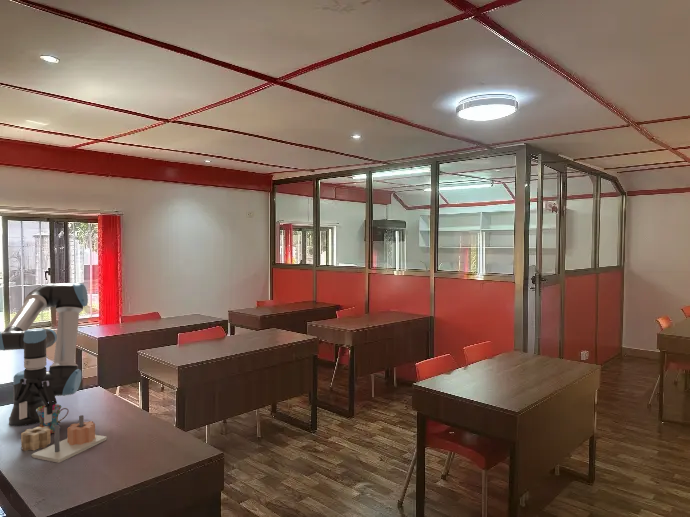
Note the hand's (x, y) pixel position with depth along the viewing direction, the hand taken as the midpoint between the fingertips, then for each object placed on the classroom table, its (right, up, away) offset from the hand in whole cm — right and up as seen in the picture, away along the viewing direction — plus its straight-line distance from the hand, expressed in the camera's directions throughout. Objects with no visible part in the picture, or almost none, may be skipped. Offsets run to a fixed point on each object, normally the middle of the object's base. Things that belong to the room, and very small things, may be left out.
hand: (35, 420), depth 186 cm
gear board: (+15, -11, -1) cm, 18 cm away
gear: (0, -11, +1) cm, 11 cm away
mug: (-3, -10, +15) cm, 19 cm away
